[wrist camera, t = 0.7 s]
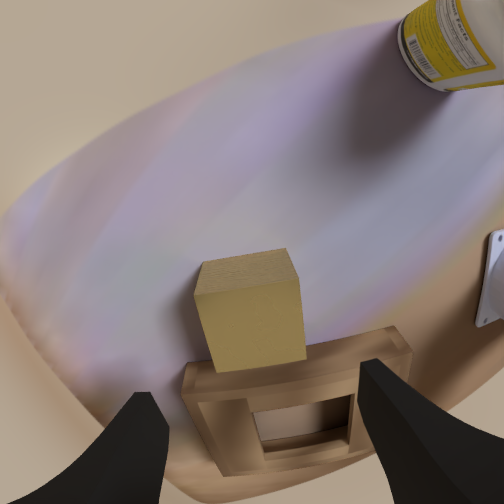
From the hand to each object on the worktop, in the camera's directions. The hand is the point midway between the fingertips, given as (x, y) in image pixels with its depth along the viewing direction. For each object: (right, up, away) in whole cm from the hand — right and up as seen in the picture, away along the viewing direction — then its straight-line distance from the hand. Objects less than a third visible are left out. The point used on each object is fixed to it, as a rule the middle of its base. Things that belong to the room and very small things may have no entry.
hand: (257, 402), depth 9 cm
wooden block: (0, +3, +8) cm, 8 cm away
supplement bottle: (+10, +17, +3) cm, 20 cm away
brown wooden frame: (+3, -6, +11) cm, 13 cm away
